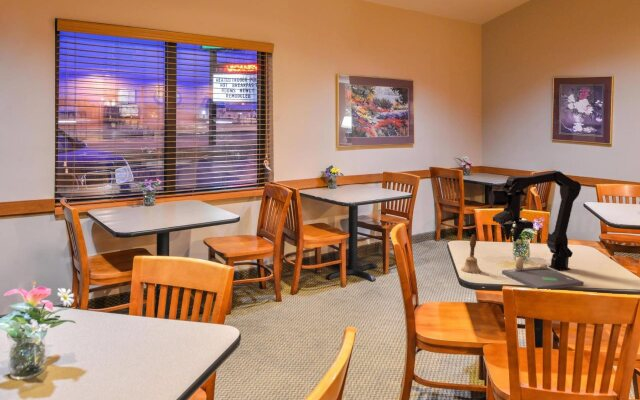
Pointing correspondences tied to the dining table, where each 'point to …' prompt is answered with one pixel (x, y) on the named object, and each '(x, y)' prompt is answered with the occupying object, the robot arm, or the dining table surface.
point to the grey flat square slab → (542, 278)
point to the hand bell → (471, 259)
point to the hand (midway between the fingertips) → (511, 240)
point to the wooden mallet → (520, 266)
